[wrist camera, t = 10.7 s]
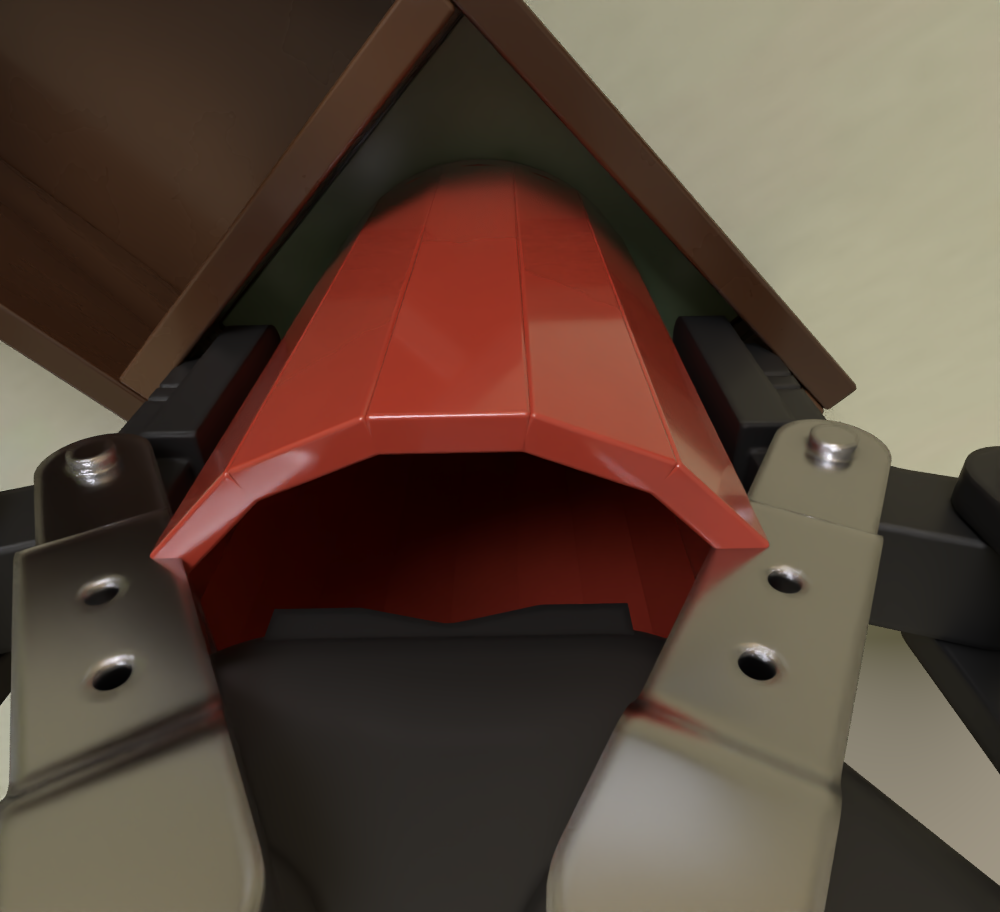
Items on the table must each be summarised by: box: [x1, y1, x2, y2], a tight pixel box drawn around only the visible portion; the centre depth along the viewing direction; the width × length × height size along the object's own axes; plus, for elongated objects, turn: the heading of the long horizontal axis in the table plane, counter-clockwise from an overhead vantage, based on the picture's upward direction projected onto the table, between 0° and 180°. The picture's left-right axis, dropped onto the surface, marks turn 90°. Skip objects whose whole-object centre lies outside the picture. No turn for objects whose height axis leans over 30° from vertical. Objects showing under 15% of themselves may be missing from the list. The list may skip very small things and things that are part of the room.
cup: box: [150, 159, 769, 651], centre depth 10 cm, size 6×6×9 cm
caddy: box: [0, 0, 856, 422], centre depth 12 cm, size 9×17×4 cm, turn 46°
